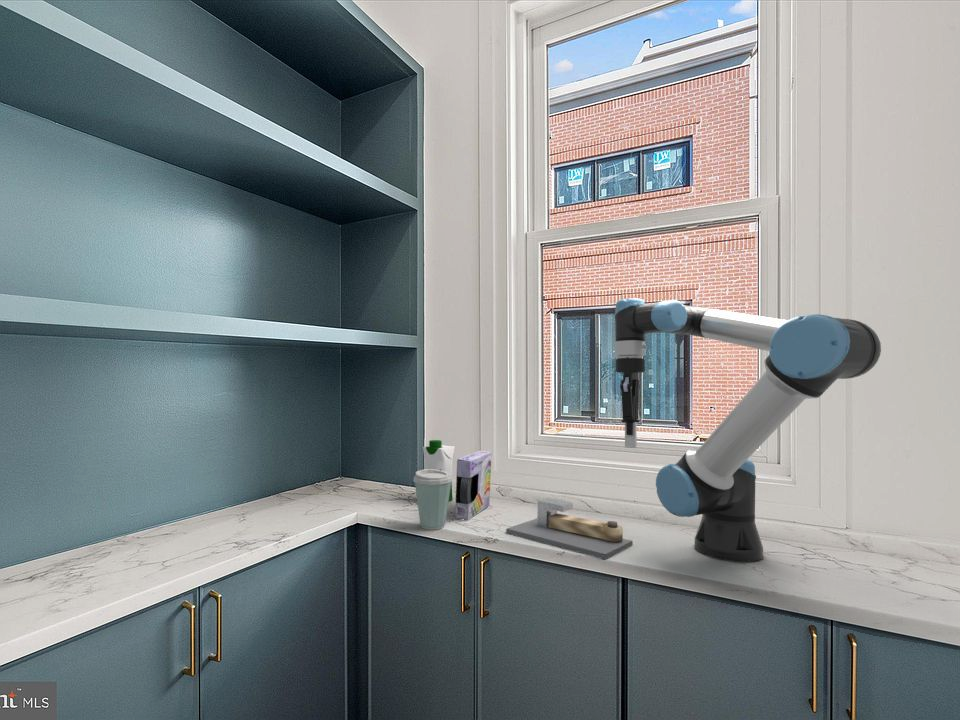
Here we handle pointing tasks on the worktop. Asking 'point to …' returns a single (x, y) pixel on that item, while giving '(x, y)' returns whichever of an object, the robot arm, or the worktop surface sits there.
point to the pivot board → (569, 540)
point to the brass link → (587, 527)
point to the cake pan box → (472, 484)
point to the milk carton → (439, 458)
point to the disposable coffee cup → (432, 497)
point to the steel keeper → (550, 509)
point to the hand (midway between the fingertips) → (630, 447)
